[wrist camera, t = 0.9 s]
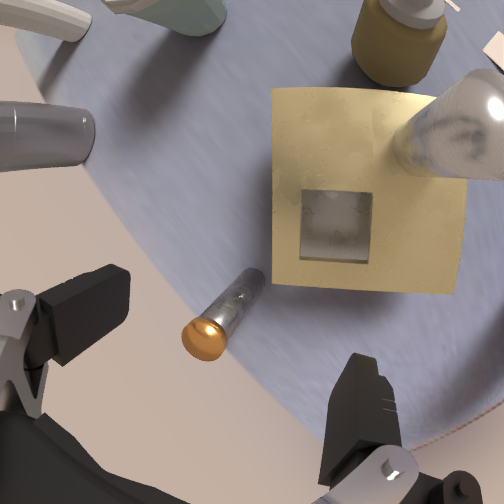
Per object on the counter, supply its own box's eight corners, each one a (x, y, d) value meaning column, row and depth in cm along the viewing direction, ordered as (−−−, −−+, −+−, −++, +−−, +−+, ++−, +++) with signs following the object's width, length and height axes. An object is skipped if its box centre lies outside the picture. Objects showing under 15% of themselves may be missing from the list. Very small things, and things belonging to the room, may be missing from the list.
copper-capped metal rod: (239, 292, 35) (184, 356, 22) (238, 265, 34) (179, 319, 21) (267, 295, 34) (224, 364, 21) (267, 267, 33) (221, 326, 20)
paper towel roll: (97, 15, 30) (2, -19, 10) (80, 45, 32) (-20, 20, 12) (79, 12, 31) (-8, -15, 11) (63, 40, 33) (-27, 20, 13)
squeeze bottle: (417, 106, 24) (495, 40, 7) (344, 85, 26) (349, -13, 9) (422, 46, 21) (477, -44, 5) (353, 26, 23) (355, -84, 6)
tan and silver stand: (287, 257, 32) (213, 375, 13) (287, 110, 28) (203, 11, 9) (427, 266, 28) (520, 383, 8) (433, 119, 24) (551, 55, 4)
